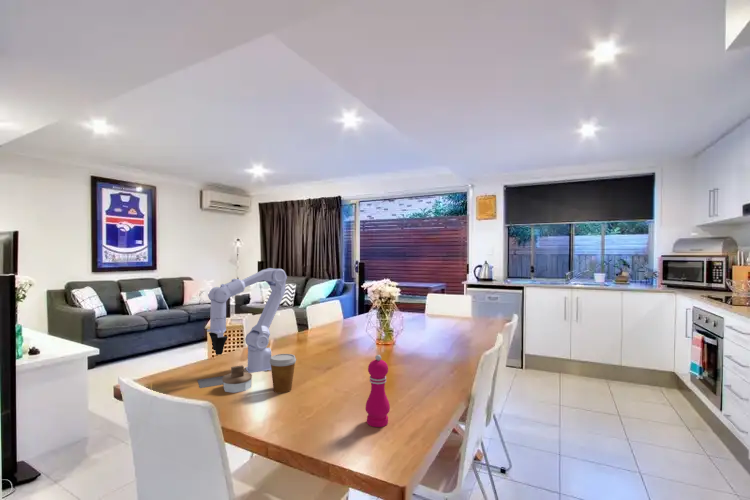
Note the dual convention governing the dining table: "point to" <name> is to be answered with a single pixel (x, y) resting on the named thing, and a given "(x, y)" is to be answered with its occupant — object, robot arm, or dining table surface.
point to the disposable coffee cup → (282, 372)
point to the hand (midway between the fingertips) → (217, 352)
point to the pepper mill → (377, 394)
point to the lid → (237, 376)
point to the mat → (210, 382)
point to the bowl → (237, 387)
